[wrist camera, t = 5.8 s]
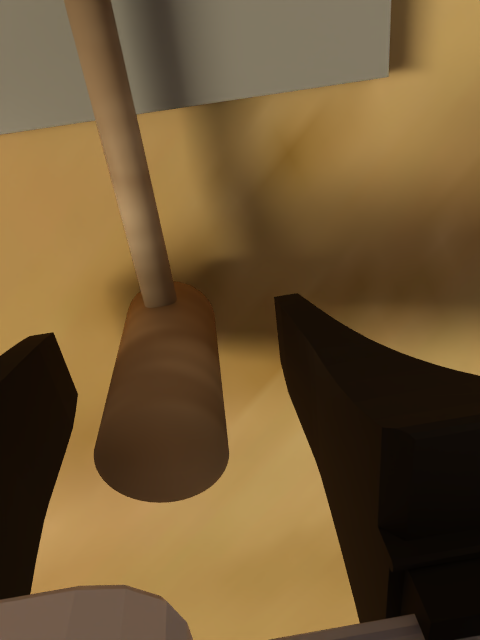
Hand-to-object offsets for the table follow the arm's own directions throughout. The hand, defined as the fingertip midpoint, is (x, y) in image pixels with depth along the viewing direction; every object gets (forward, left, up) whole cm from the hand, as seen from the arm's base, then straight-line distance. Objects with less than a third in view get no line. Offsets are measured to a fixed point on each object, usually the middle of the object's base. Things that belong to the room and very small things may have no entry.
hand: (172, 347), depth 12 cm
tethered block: (0, -6, -1) cm, 6 cm away
